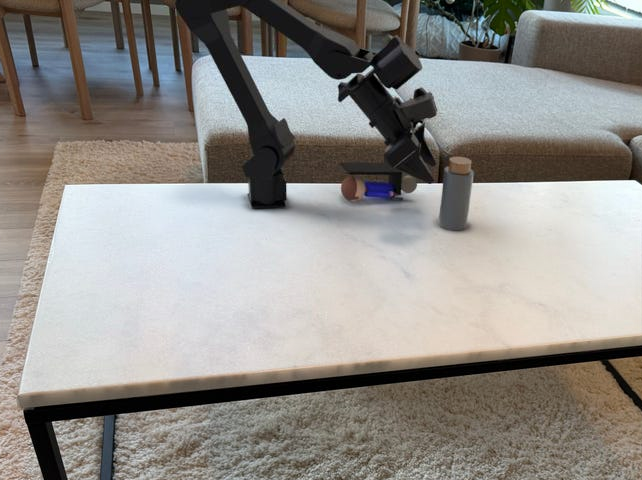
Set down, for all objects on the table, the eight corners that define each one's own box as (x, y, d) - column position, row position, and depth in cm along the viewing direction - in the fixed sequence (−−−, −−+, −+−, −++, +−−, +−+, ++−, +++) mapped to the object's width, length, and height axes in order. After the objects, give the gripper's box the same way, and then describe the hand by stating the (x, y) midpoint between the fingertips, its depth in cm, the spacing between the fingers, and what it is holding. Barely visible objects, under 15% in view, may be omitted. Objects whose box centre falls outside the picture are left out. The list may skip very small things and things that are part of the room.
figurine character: (401, 196, 149) (334, 193, 142) (407, 162, 145) (339, 157, 138) (413, 208, 144) (345, 206, 137) (420, 173, 140) (350, 169, 133)
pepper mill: (451, 233, 133) (460, 167, 126) (432, 222, 136) (439, 157, 129) (472, 227, 136) (481, 162, 129) (453, 216, 140) (461, 153, 132)
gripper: (408, 89, 111) (467, 164, 118) (417, 64, 127) (468, 132, 133) (358, 131, 116) (417, 202, 122) (371, 102, 131) (423, 166, 138)
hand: (433, 173), depth 129 cm, fingers open, 9 cm apart
